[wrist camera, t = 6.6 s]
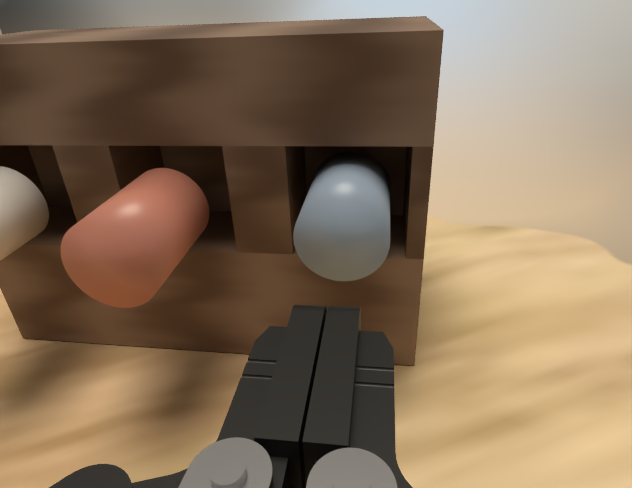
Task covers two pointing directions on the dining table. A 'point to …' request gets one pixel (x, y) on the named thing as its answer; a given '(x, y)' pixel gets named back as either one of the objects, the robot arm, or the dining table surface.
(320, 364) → the robot arm
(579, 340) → the dining table surface
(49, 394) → the dining table surface
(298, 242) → the blue key
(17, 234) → the white key
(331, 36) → the box
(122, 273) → the red key
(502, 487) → the dining table surface
